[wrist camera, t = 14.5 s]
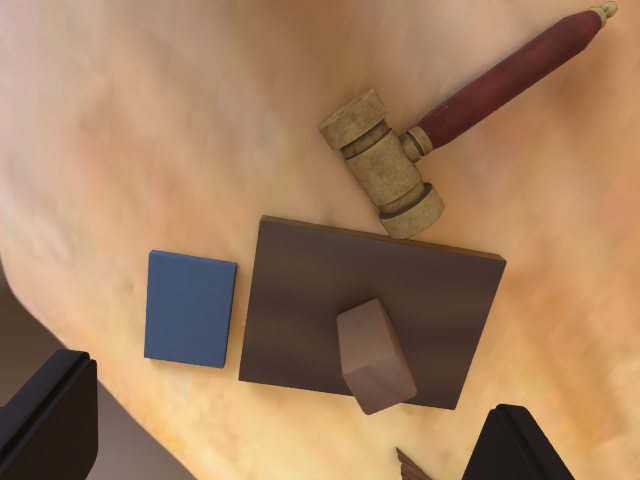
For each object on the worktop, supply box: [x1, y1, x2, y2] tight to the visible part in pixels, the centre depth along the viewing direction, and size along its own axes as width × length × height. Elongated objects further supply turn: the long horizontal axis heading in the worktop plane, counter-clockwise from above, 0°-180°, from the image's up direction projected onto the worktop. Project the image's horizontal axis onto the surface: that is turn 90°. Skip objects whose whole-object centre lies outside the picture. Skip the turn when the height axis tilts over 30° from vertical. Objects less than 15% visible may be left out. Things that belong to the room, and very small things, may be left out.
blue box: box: [144, 250, 237, 368], centre depth 35 cm, size 10×7×1 cm
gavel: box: [319, 1, 618, 239], centre depth 29 cm, size 21×5×10 cm
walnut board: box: [238, 215, 507, 410], centre depth 35 cm, size 15×20×2 cm
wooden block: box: [337, 299, 417, 415], centre depth 31 cm, size 4×4×8 cm
